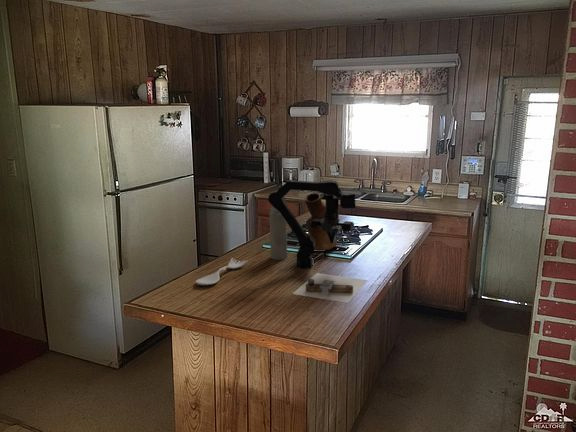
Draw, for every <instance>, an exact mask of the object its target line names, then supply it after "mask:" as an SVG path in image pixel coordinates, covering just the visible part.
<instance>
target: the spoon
mask: <svg viewBox="0 0 576 432" xmlns="http://www.w3.org/2000/svg"><path fill="white" fill-rule="evenodd" d="M248 262H249V260H247V259H246V260H242V261H241V260H238V259H237V260H236V259H234V257H231V259H230V261H229V262H228V264H227V265H225V266H223V267H220V268H218V270H217V271H215V272H213V273H211V274H209V275H205V276H203V277H200V278H198V279H196V280H195V282H194V283H196V284H197V285H198V286H199V285H200V286H211V285H214V284H217V283H218V282H219V281H220V279H221V278H220V273H221V272H223V271H226V269H231V270H235V269H238V268H240V267H242V266H243V265H246V264H247V263H248Z"/></svg>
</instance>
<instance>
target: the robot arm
mask: <svg viewBox="0 0 576 432" xmlns="http://www.w3.org/2000/svg"><path fill="white" fill-rule="evenodd" d="M290 191H303V192H305V191H306V192H309V191H310V192H318V193H321V194H323V195H322V196H320V197H321V199H322V200H325V201H326V212H325V214H324V218H323V219H314V220H312V221H311V227H314V228H317V227H318V226H319V225H320V226H321V228H322V229H323V230H325V231H326V232H327V234H328V236H329V239H330V242H331V243H334V240H335V238H336V237H337V235H338V233H339V231H341V230H342V231H346V232H347V231H349V232H351V231H352V230H353V229H354V228H355V223H354V221H349V220H348V221H346V220H345V221H343V222H340V218H339V214H340V208H342V210H356V193H344V192H343V191H342V190H341V189H340V188H339V183H338V181H336V180H335V179H329V180H322V181H309V180H308V181H306V180H293V179H288V180H287V181H286V182H285V183H284V184H283V185H282V186H281V187H279V188H278V189H275V190H273V191H271V192H270V194H269V195H268V202H269V204H270V205H271V207H272V206H273V207H274V208H275V209H277V210H278V211H279V212H280V213H281V214H282V216H283V217H284V219H285V220H286V224H287V225H288V226H289V228H290V229H291V231H292V232H293V234H294V235H295V237H296V239H297V241H298V245H299V247H298V250H297V252H296V267H297V268H299V269H302V270H303V269H305V270H306V269H312V268H313V267H314V258H313V255H312V254H313V252H315V251H314V248H315V239H314V238H313V237H312V235H311V233H309V234H308V232H306V231H305V230H304V229H303V228H302V226H301V224H300V223H299V221H298V219H296V217H295V215H294V214H293V213H292V210H290V208H289V206H288V204H287V201H286V199H285V196H286V195H287V194H288V193H289V192H290ZM336 239H337V238H336Z"/></svg>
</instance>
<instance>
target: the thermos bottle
mask: <svg viewBox="0 0 576 432" xmlns="http://www.w3.org/2000/svg"><path fill="white" fill-rule="evenodd" d="M268 215H269V239H270V240H269V241H270V258H271V259H272V260H278V261H279V260H286V259H287V258H288V234H287V222H286V220H285V219H284V217H283V216H282V214H281V213H280V212H279V211H278V210H277V209H275V208H274V207H273V206H272V205H271V207H270V212H269V214H268Z"/></svg>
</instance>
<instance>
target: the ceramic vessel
mask: <svg viewBox="0 0 576 432" xmlns="http://www.w3.org/2000/svg"><path fill="white" fill-rule="evenodd" d="M321 197H322V196H321V195H320V194H319V193H310V194H307V195H306V196H305V197H304V201H305V205H306V207H307V210H308V212H309V214H310V217H308V218H307V220H306V223H305V224H306V225H305V226H306V228H307V229H306V230H307V234H309V233H311V235H312V237H313V238H314V239H315V248H314V250H328V249H332V248H333V247H335V246H336V245H337V246H338V244H339V243H338V240H337V238H335V240H334V243H331V242H330V239H329V236H328V234H327V232H326V231H325V230H323V229H322V228H321V226H320V225H319V226H318V227H317V228H314V227H311V221H312V220H314V219H323V218H324V214H325V212H326V201H325V200H322V199H321ZM332 250H333V249H332Z"/></svg>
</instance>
